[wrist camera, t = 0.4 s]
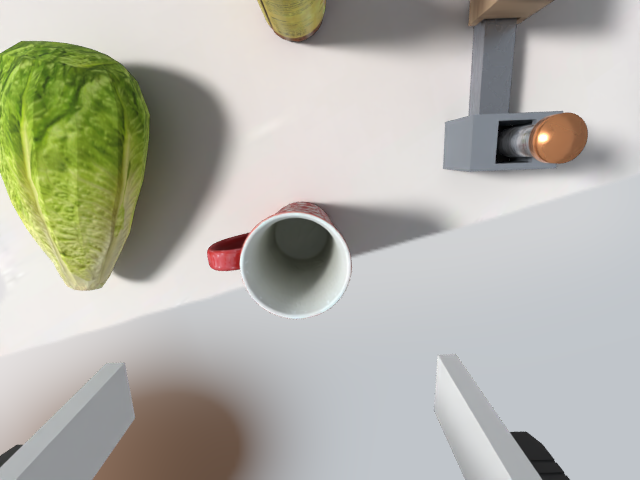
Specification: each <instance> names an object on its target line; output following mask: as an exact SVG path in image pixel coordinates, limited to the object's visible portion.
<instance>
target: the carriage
mask: <svg viewBox="0 0 640 480" xmlns="http://www.w3.org/2000/svg"><path fill="white" fill-rule="evenodd" d="M553 1H554V0H470V8H469V25H468V26H476V25H477V24H478V23H479V22H481V21H482V20H483V19H493V18H517V22H516V24H519V23H521V22H522V21H524V20H525V19H527V18H528V17H530V16H531V15H533V14H534V13H536V12H537V11H539V10H540V9H542V8H544V7H545V6H547V5H548V4H550V3H551V2H553Z"/></svg>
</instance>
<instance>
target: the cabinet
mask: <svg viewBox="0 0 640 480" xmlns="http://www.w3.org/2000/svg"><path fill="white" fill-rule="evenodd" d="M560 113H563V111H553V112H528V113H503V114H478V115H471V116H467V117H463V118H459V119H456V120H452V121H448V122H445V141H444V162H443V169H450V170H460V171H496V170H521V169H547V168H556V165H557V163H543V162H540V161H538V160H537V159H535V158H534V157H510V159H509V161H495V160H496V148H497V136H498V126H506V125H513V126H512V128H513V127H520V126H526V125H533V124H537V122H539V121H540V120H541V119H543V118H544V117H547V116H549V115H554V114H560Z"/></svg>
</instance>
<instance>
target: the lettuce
mask: <svg viewBox="0 0 640 480" xmlns="http://www.w3.org/2000/svg"><path fill="white" fill-rule="evenodd" d="M149 124H150V114H149V111H148V108H147V106H146V103H145V100H144V98H143V95H142V92H141V90H140V87H139V84H138V82H137V81H136V80H135V78H134V77H133V76H132V75H131V74H130V73H129V72H128V71H127V70H126V69H125V67H124V66H123V65H122V64H120V63H119V62H117V61H115V60H114V59H112V58H111V57H109V56H108V55H106V54H103V53H100V52H98V51H95V50H93V49H89V48H86V47H82V46H78V45H73V44H68V43H59V42H48V41H21V42H19V43H17V44H16V45H14V46H12V47H10V48H9V49H7V50H5V51H4V52H2V53H0V173H1V176H2V179H3V181H4V184H5V187H6V189H7V192H8V194H9V197H10V200H11V202H12V204H13V206H14V208H15V209H16V211H17V213H18V215H19V216H20V218H21V220H22V222H23V223H24V225H25V227H26V228H27V230H28V231H29V232H30V234H31V235H32V236H33V238H34V239H35V241H36V242H37V243H38V245H39V246H40V247H41V249H42V250H43V251H44V252H45V253H46V255H47V256H48V257H49V258H50V259H51V261H52V262H53V263H54V265H55V267H56V269H57V271H58V273H59V274H60V276H61V278H62V279H63V281H64V282H65V284H66V285H67V286H68V287H70V288H72V289H74V290H95V289H99V288H102V286H103V285H104V284H105V282H106V281H107V279H108V278H109V276H110V275H111V272H112V270H113V268H114V266H115V263H116V261H117V259H118V257H119V255H120V253H121V251H122V249H123V246H124V244H125V242H126V240H127V237H128V235H129V233H130V230H131V225H132V220H133V216H134V211H135V207H136V203H137V200H138V197H139V193H140V190H141V187H142V183H143V179H144V172H145V165H146V158H147V150H148V143H149Z"/></svg>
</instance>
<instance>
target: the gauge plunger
mask: <svg viewBox="0 0 640 480" xmlns="http://www.w3.org/2000/svg"><path fill="white" fill-rule="evenodd" d="M587 137H588V131H587V126H586V124H585V122H584V121H583V119H582V118H581V117H579V116H578V115H576V114H573V113H560V114H554V115H549V116H547V117H544V118H543V119H541V120H540V121H539V122H537V124H533V125H526V126H520V127H513V128H507V129H505V130H503V131H502V132H501V133H500V134H499V135H498V137H497V148H496V149H497V151H498V152H499V153H500V154H501V155H503V156H507V157H534V158H535V159H537V160H538V161H540V162H543V163H557V164H560V163H566V162H569V161H571V160H573V159H574V158H576V157H577V156H578V155H579V154H580V153H581V151H582V150H583V148H584V147H585V144H586V142H587Z"/></svg>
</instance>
